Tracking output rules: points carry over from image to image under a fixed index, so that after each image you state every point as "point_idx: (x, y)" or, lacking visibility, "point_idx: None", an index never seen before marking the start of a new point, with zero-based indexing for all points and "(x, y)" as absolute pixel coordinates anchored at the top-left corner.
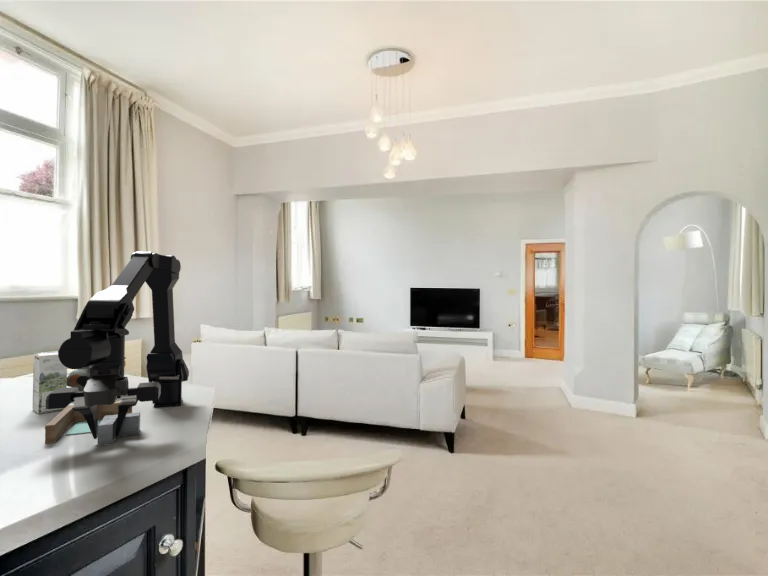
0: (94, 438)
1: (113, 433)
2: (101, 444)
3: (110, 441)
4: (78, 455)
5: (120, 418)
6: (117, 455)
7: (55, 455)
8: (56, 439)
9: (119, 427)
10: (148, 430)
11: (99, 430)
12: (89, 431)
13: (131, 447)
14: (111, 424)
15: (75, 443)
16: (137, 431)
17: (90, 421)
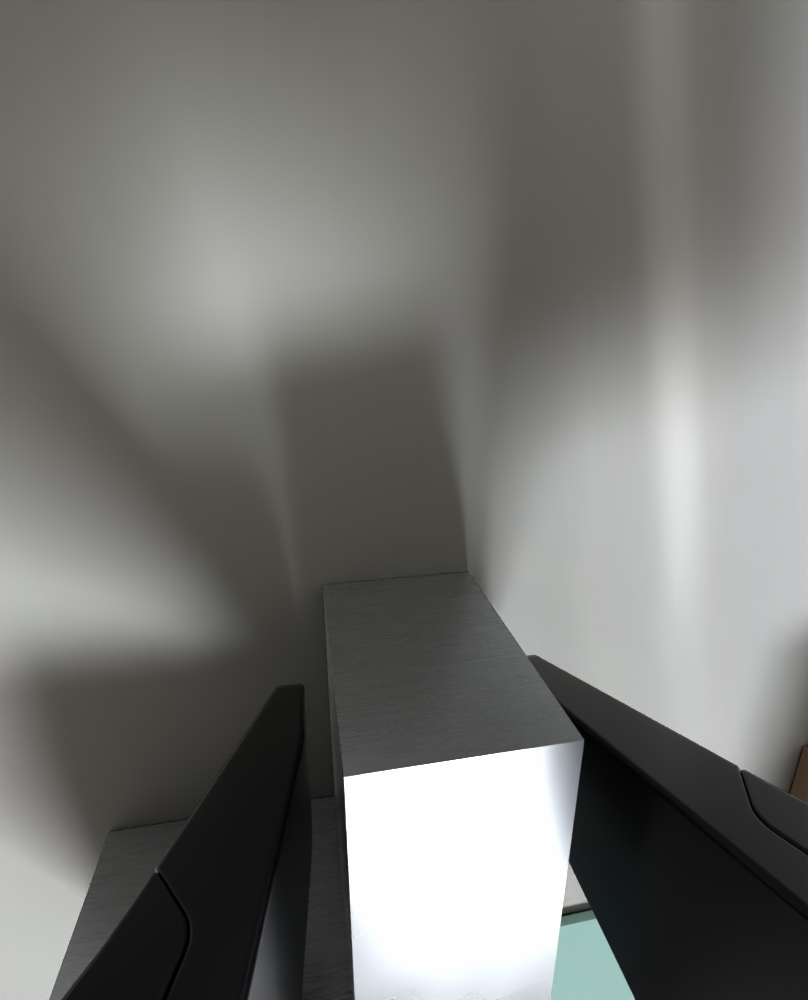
0: (531, 658)
1: (333, 710)
2: (434, 579)
3: (345, 599)
4: (612, 317)
5: (190, 921)
6: (132, 88)
7: (800, 407)
8: (794, 796)
9: (244, 768)
10: (33, 932)
11: (520, 685)
12: (588, 929)
13: (31, 393)
14: (365, 772)
15: (662, 692)
16: (108, 864)
17: (751, 811)
